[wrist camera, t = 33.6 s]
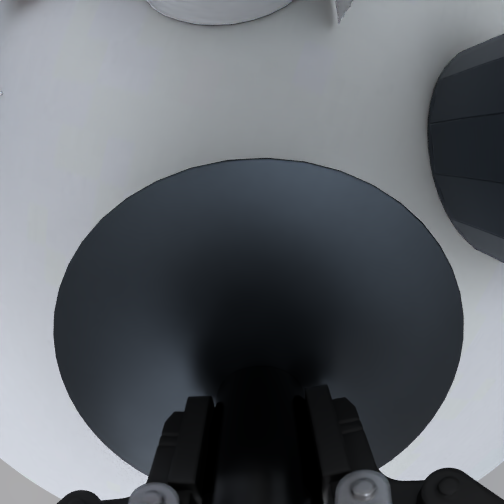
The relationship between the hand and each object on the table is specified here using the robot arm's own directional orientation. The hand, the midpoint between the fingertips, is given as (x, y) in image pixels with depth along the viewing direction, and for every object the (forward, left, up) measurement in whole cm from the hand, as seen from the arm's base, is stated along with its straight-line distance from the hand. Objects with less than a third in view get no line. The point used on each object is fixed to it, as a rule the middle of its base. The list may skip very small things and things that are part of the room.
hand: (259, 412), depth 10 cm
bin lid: (0, 0, -1) cm, 1 cm away
